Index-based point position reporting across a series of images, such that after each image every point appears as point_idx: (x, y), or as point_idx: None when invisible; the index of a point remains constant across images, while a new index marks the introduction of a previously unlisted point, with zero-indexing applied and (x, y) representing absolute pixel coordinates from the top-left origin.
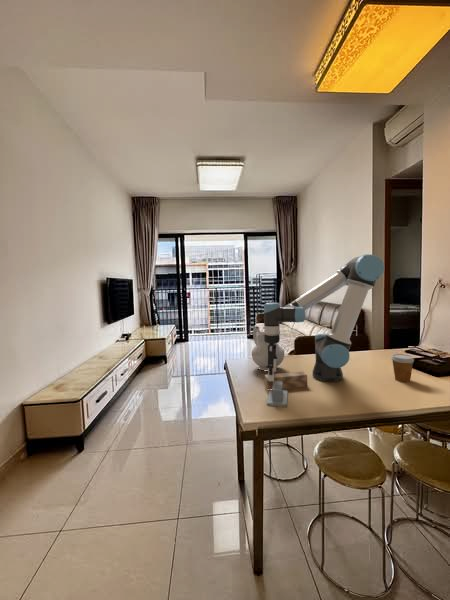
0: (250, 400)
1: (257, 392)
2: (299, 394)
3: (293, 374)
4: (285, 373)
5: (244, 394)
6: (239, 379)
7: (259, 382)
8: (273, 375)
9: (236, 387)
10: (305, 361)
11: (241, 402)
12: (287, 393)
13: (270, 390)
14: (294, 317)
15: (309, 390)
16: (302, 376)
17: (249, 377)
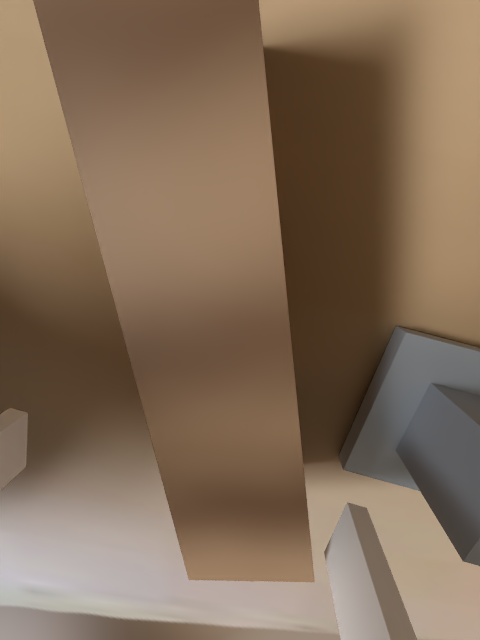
0: (456, 591)
1: (331, 533)
2: (466, 214)
3: (199, 204)
4: (144, 332)
5: None
6: (87, 585)
7: (139, 487)
8: (403, 608)
9: (225, 620)
10: None
11: (469, 635)
12: (413, 330)
13: (360, 470)
14: None
15: (388, 54)
16: (259, 23)
17: (44, 529)
